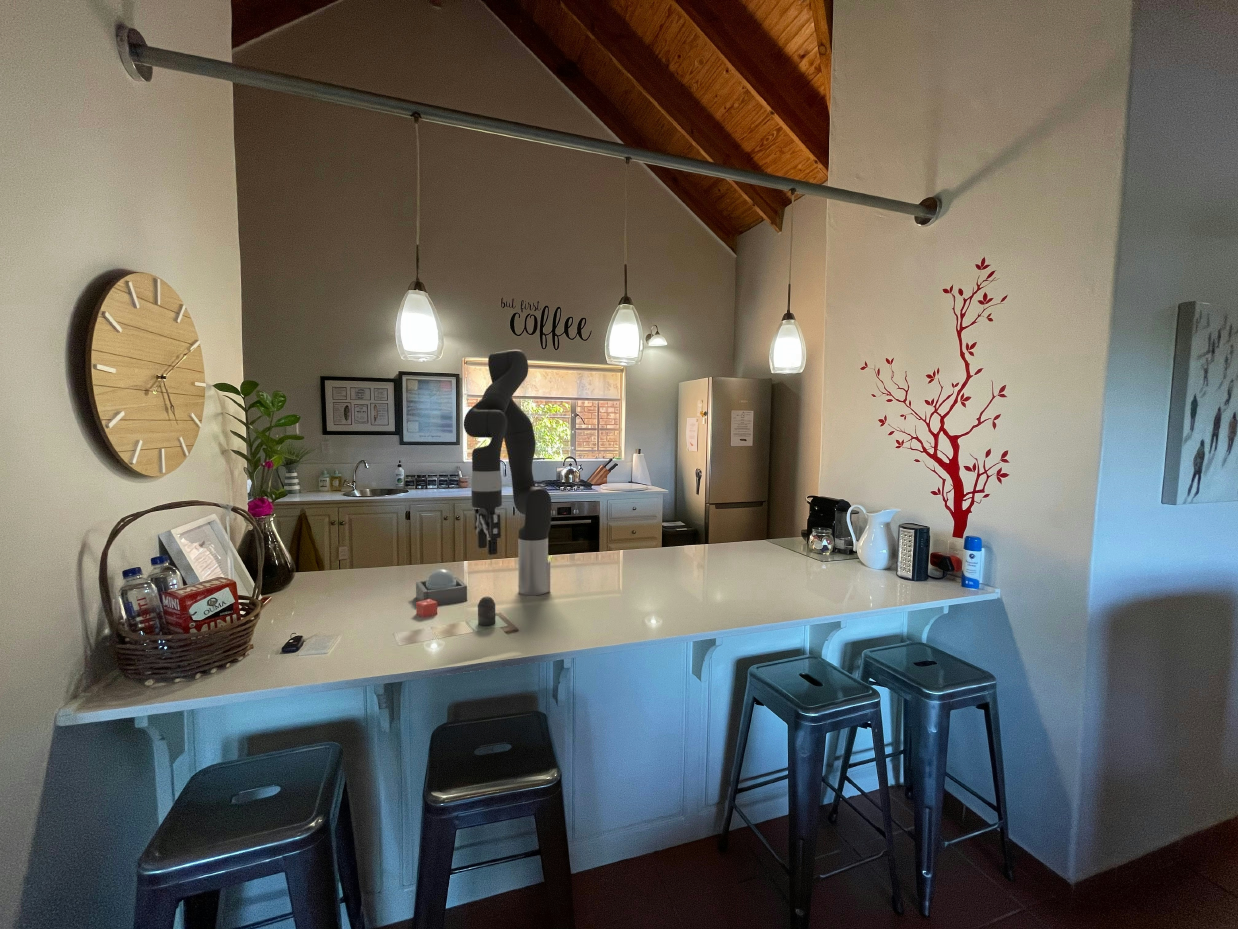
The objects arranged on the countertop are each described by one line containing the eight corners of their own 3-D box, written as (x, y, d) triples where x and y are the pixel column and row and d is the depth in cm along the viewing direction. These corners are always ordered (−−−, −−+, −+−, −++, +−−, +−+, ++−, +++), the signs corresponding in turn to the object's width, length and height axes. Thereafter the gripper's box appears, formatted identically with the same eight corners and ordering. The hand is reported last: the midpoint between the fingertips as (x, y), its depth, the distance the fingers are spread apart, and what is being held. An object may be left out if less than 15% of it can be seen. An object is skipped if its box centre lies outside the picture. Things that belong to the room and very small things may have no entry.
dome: (452, 588, 170) (452, 564, 169) (459, 596, 162) (459, 570, 162) (423, 592, 165) (423, 567, 165) (429, 600, 158) (429, 574, 158)
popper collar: (456, 590, 173) (456, 576, 172) (467, 601, 162) (467, 586, 162) (415, 596, 166) (415, 581, 166) (424, 607, 156) (423, 592, 155)
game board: (500, 614, 151) (500, 611, 151) (518, 631, 139) (518, 627, 139) (383, 634, 136) (383, 631, 135) (392, 655, 124) (392, 651, 123)
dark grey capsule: (492, 618, 145) (492, 593, 144) (497, 624, 141) (497, 598, 140) (476, 621, 143) (475, 595, 142) (480, 627, 139) (480, 600, 138)
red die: (430, 613, 151) (430, 598, 151) (437, 616, 149) (437, 601, 148) (416, 616, 148) (416, 601, 148) (423, 620, 146) (423, 605, 145)
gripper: (510, 490, 135) (510, 555, 136) (492, 484, 147) (492, 544, 148) (480, 492, 131) (481, 558, 132) (464, 486, 143) (465, 547, 145)
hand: (487, 551), depth 140 cm, fingers open, 8 cm apart
